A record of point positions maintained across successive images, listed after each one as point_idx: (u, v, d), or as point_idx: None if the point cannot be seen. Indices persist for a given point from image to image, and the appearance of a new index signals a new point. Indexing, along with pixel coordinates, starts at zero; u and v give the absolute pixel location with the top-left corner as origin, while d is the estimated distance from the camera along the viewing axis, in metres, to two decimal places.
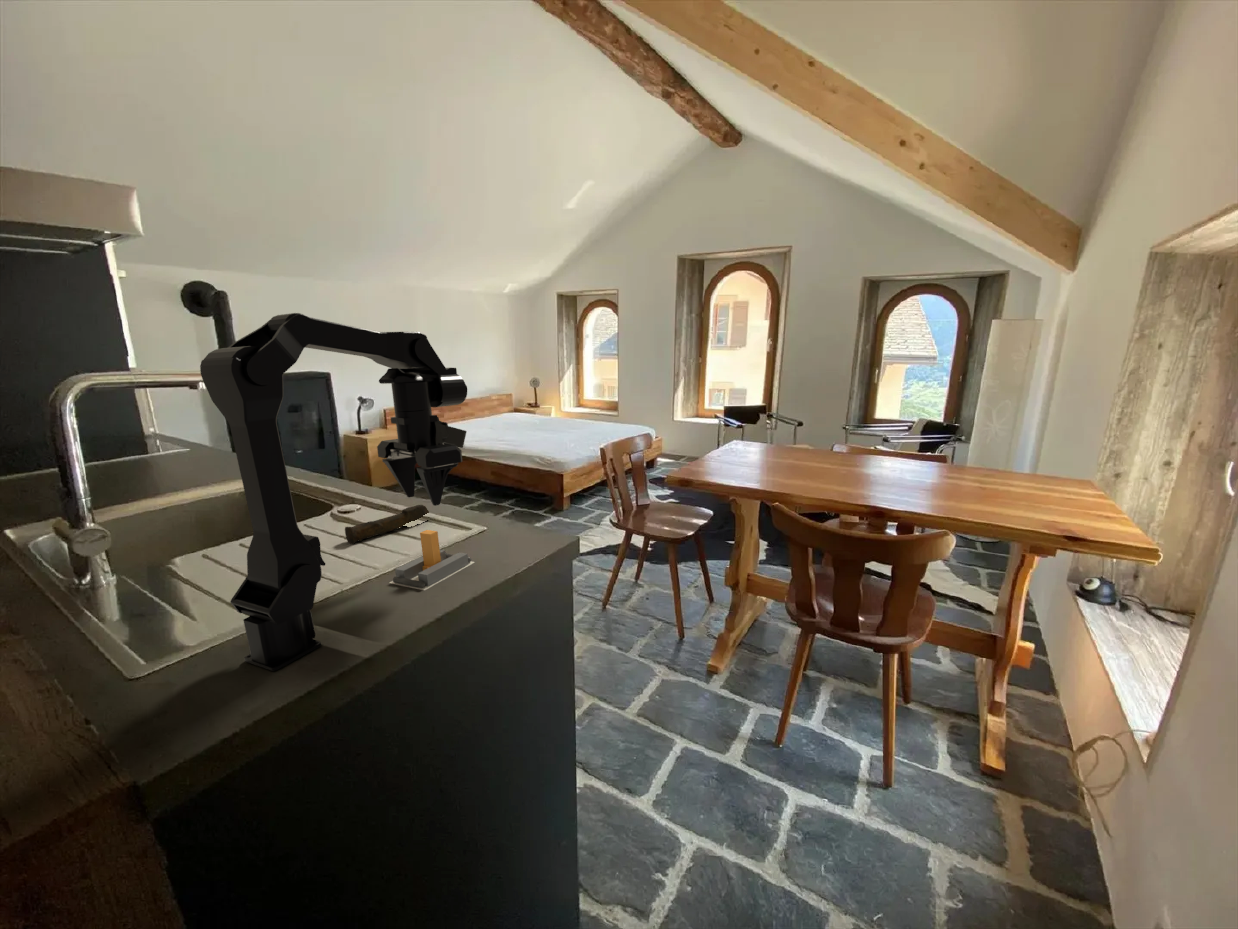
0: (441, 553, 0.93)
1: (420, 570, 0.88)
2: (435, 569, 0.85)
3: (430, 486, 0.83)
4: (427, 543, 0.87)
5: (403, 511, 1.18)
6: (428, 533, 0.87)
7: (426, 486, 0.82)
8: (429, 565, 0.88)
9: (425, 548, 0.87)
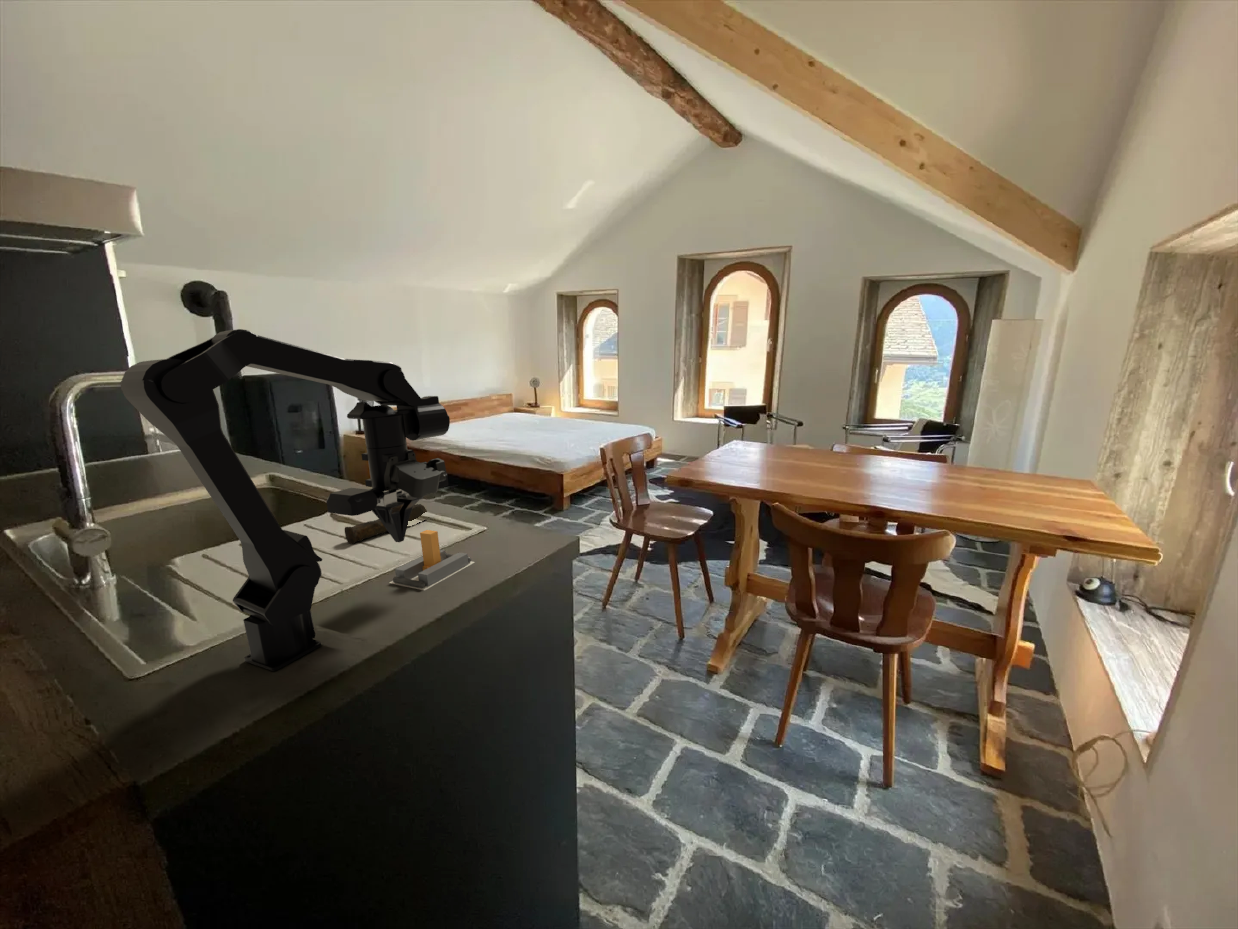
0: (441, 553, 0.93)
1: (420, 570, 0.88)
2: (435, 569, 0.85)
3: (383, 521, 0.80)
4: (427, 543, 0.87)
5: None
6: (428, 533, 0.87)
7: None
8: (429, 565, 0.88)
9: (425, 548, 0.87)
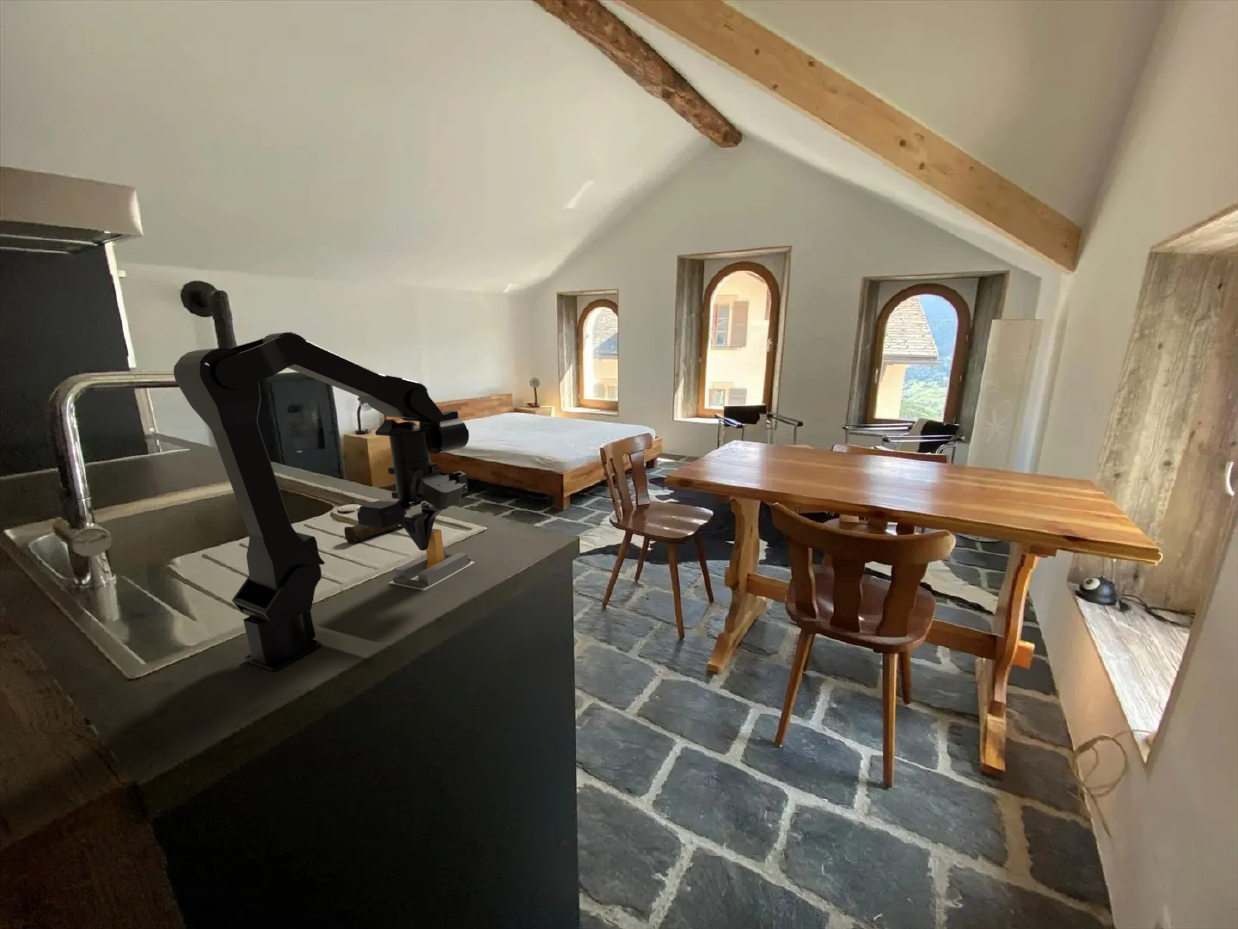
0: None
1: (420, 570, 0.88)
2: (435, 569, 0.85)
3: (408, 531, 0.85)
4: (431, 541, 0.88)
5: None
6: None
7: None
8: (433, 563, 0.89)
9: (428, 546, 0.88)
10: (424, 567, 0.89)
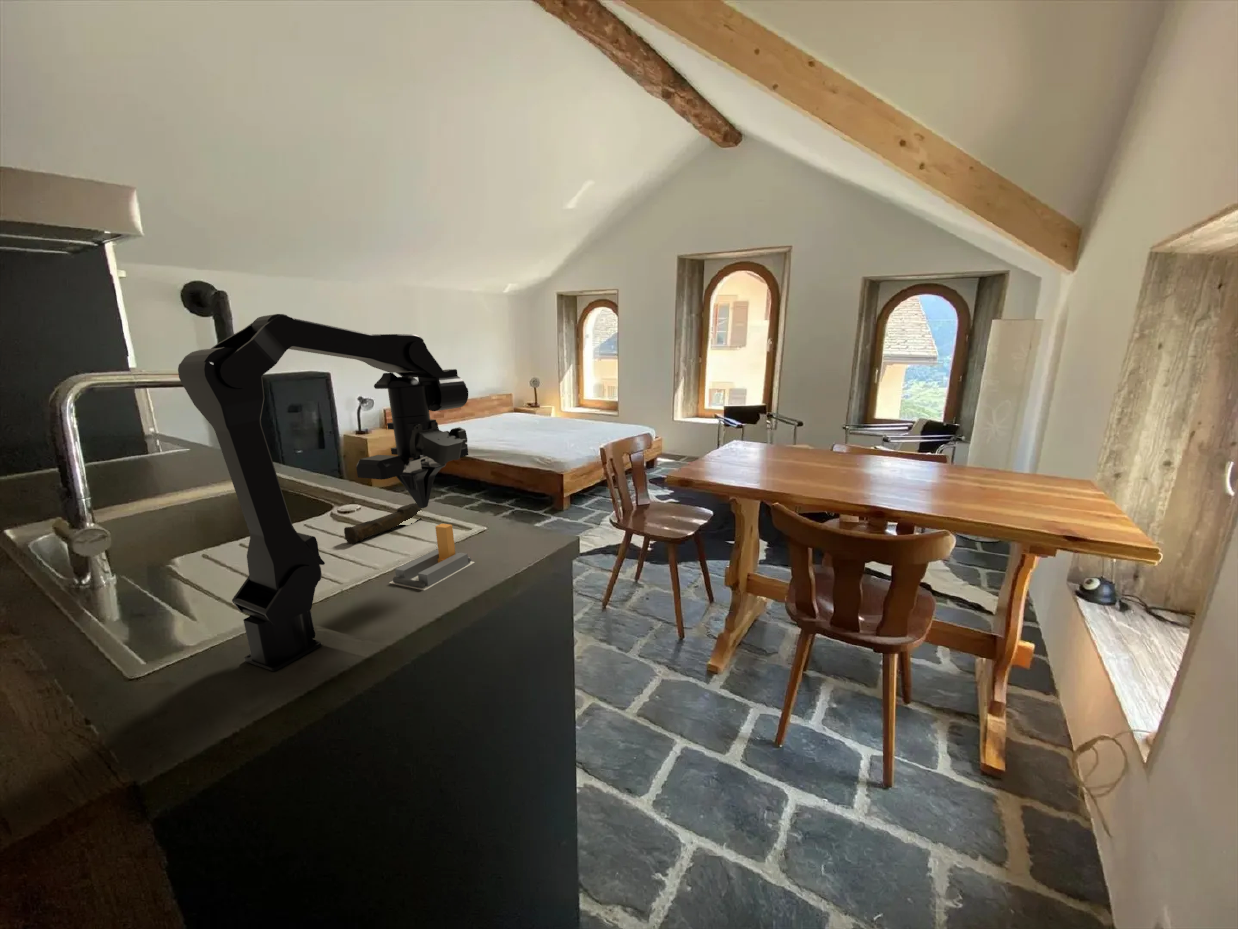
0: None
1: (420, 570, 0.88)
2: (435, 569, 0.85)
3: (407, 488, 0.85)
4: (442, 536, 0.90)
5: (398, 510, 1.19)
6: (443, 526, 0.90)
7: None
8: (444, 557, 0.91)
9: (440, 541, 0.91)
10: (424, 567, 0.89)
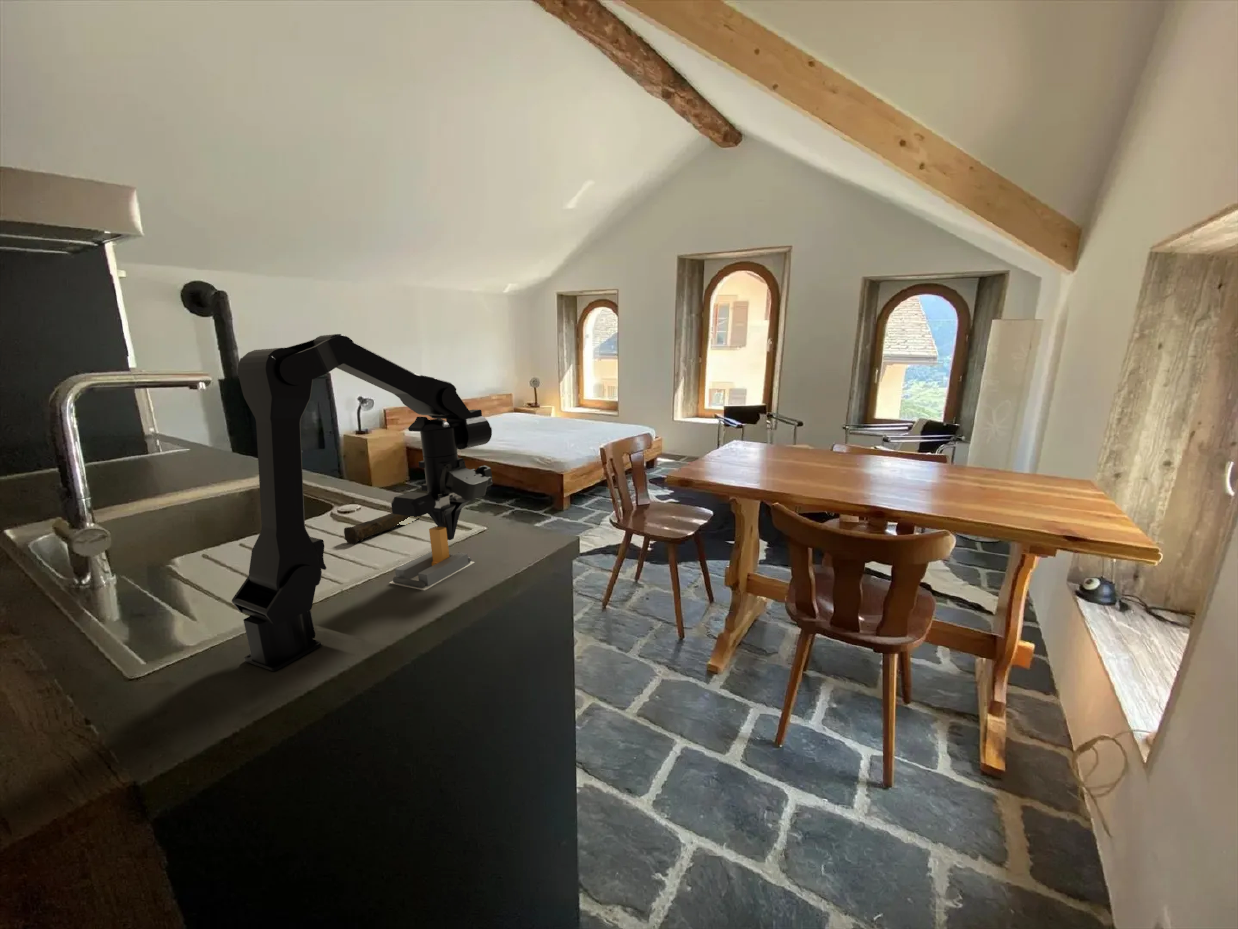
0: None
1: (420, 570, 0.88)
2: (435, 569, 0.85)
3: (436, 521, 0.91)
4: (436, 539, 0.89)
5: None
6: (437, 529, 0.89)
7: None
8: (438, 561, 0.90)
9: (434, 544, 0.89)
10: (424, 567, 0.89)
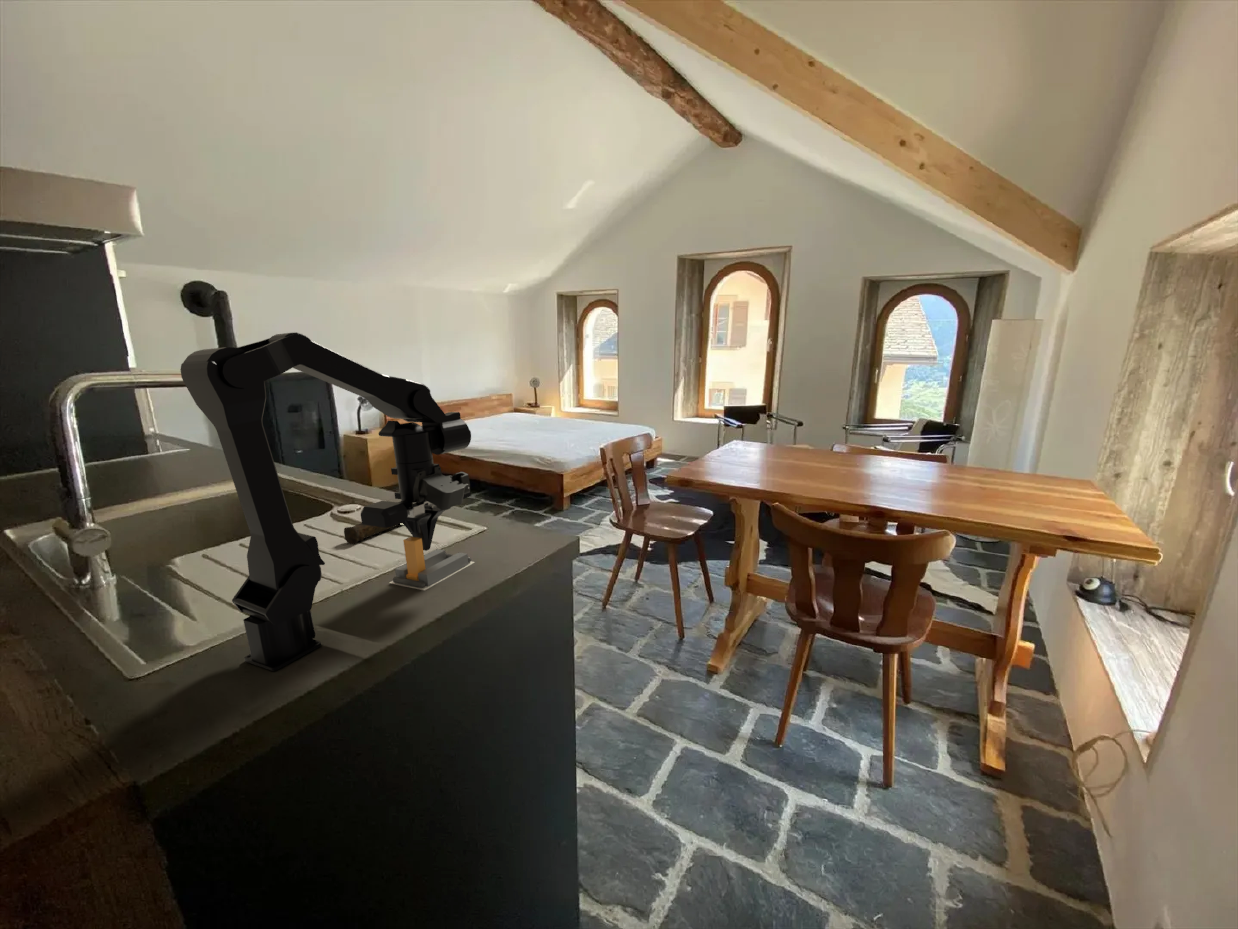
0: (441, 553, 0.93)
1: None
2: (435, 569, 0.85)
3: (411, 531, 0.86)
4: (411, 550, 0.84)
5: None
6: (411, 540, 0.84)
7: None
8: (413, 573, 0.85)
9: (408, 555, 0.84)
10: None
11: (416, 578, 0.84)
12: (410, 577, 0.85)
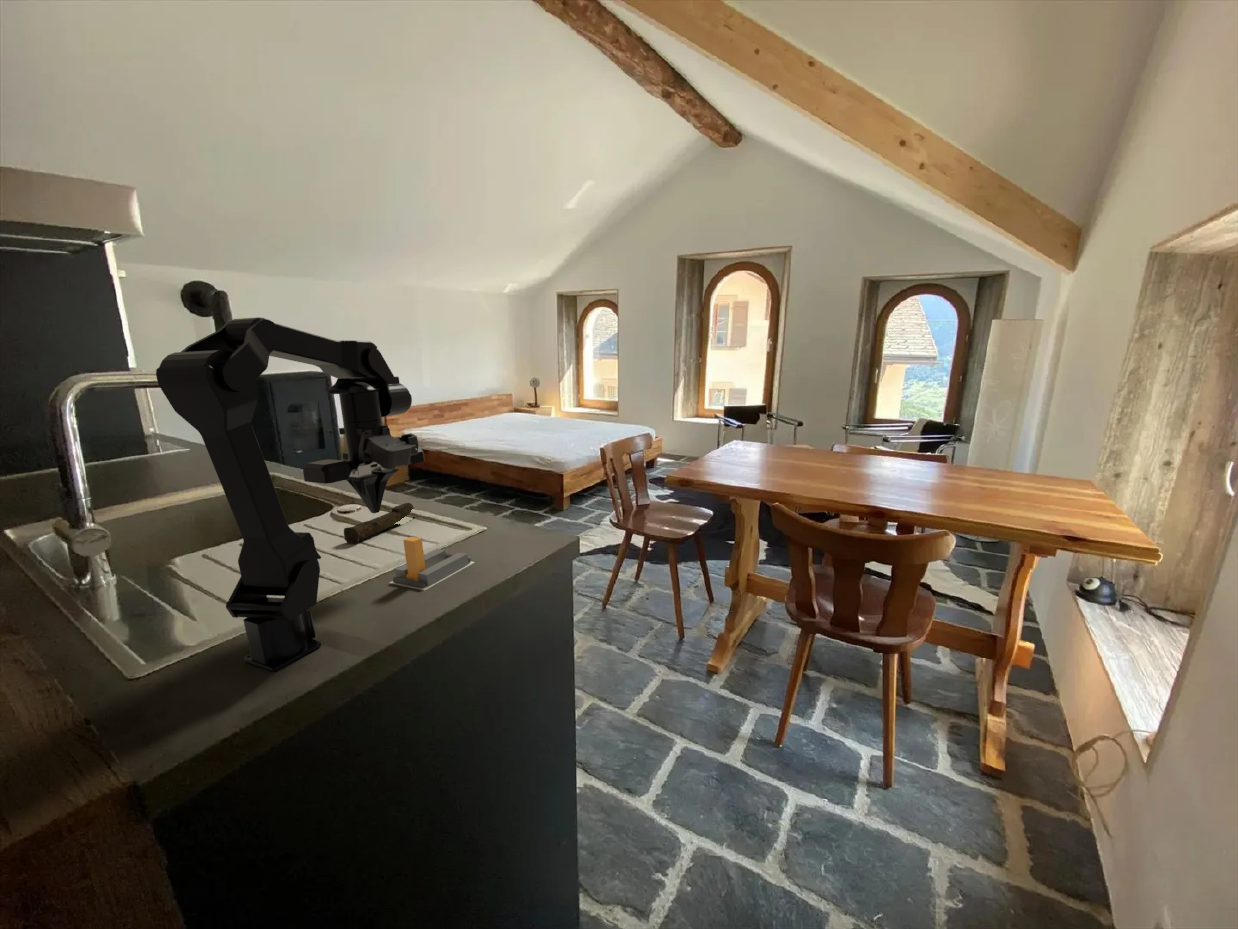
0: (441, 553, 0.93)
1: None
2: (435, 569, 0.85)
3: (359, 493, 0.85)
4: (411, 550, 0.84)
5: (394, 509, 1.20)
6: (411, 540, 0.84)
7: None
8: (413, 573, 0.85)
9: (408, 555, 0.84)
10: None
11: (416, 578, 0.84)
12: (410, 577, 0.85)
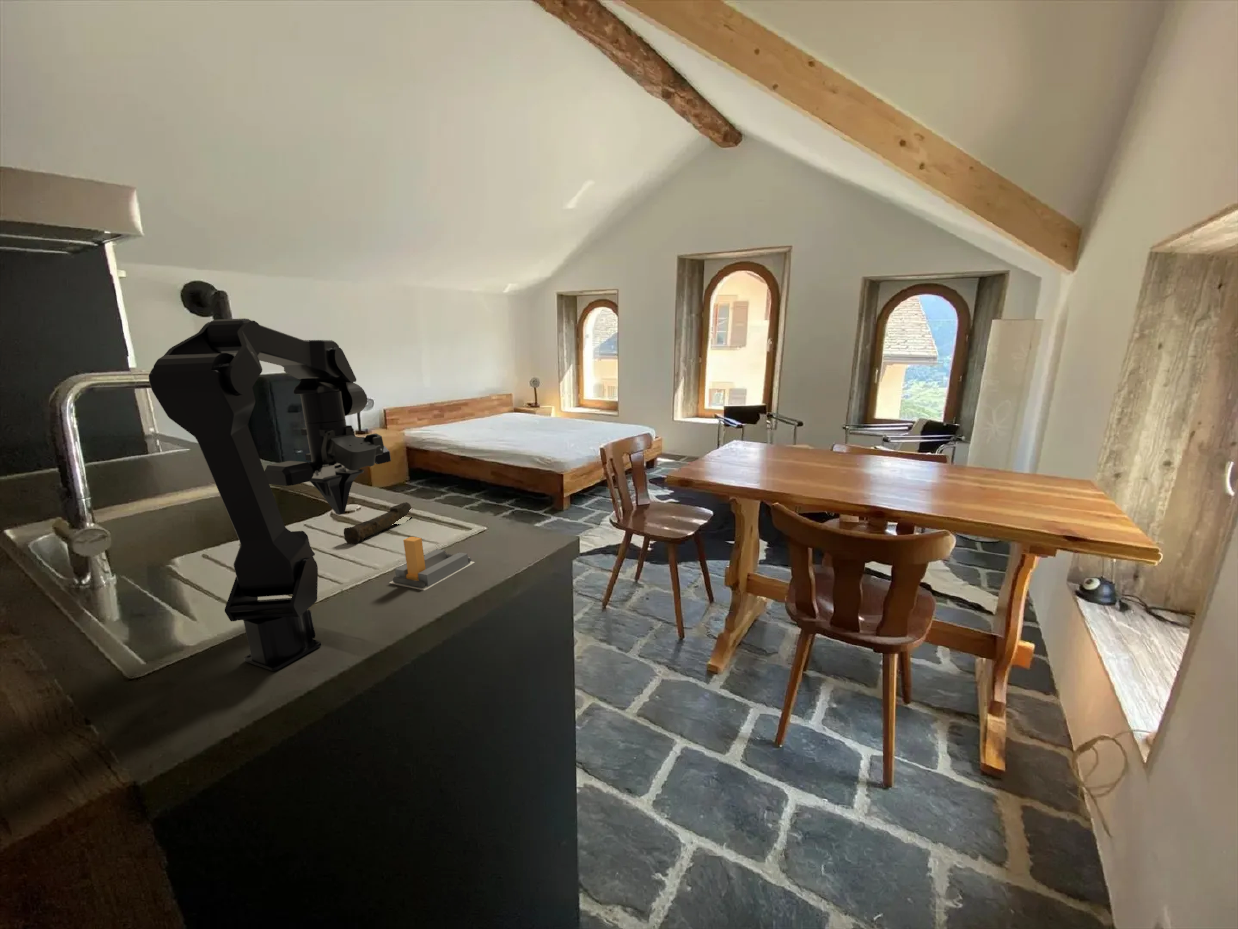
0: (441, 553, 0.93)
1: None
2: (435, 569, 0.85)
3: (323, 494, 0.84)
4: (411, 550, 0.84)
5: (392, 509, 1.20)
6: (411, 540, 0.84)
7: None
8: (413, 573, 0.85)
9: (408, 555, 0.84)
10: None
11: (416, 578, 0.84)
12: (410, 577, 0.85)
